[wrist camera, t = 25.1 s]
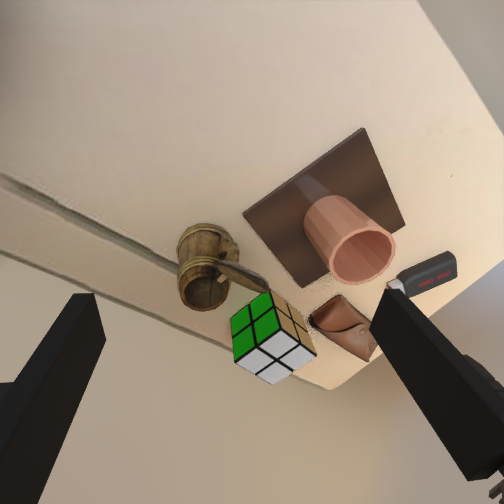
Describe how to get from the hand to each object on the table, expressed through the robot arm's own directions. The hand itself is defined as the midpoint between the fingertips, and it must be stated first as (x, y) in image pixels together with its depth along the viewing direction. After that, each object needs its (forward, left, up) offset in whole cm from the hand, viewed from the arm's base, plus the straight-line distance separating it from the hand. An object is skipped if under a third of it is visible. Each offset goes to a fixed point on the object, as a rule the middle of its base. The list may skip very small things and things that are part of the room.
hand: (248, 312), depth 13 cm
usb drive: (+38, +17, -29) cm, 51 cm away
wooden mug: (+8, -8, -29) cm, 31 cm away
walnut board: (+16, +8, -29) cm, 34 cm away
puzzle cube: (+27, -11, -29) cm, 41 cm away
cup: (+16, +8, -28) cm, 33 cm away
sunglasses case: (+41, +1, -29) cm, 50 cm away
